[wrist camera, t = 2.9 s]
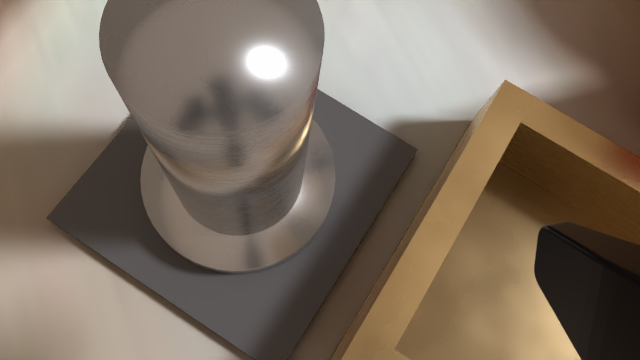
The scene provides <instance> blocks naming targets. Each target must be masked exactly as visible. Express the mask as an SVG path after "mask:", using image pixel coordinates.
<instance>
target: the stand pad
mask: <svg viewBox="0 0 640 360" xmlns="http://www.w3.org/2000/svg"><path fill="white" fill-rule="evenodd" d="M313 120H314V121H315V122H316V123H317V124H318V125H319V127H320V129H321V130H322V132H323V133H324V135H325V137H326V139H327V141H328V143H329V145H330V148H331V151H332V154H333V159H334V164H335V178H336V180H335V190H334V195H333V199H332V203H331V206H330V209H329V211H328V214H327V216H326V219H325V222H324V223H323V225H322V227H321V229H320V230H319V232H318V233H317V235H316V236H315V237H314V239H313V240H312V241H311V242H310V243H309V244H308V245H307V246H306V247H305V248H304V249H303V250H302V251H301V252H300V253H299V254H297V255H296V256H295V257H293V258H292V259H290V260H288V261H287V262H285V263H283V264H281V265H279V266H277V267H274V268H272V269H269V270H265V271H262V272H258V273H251V274H224V273H218V272H214V271H210V270H207V269H204V268H202V267H199V266H197V265H195V264H193V263H191V262H190V261H188V260H186V259H184V258H183V257H182V256H181V255H179V254H178V253H177V252H175V251H174V250H173V249H172V248H171V247H170V246H169V245H168V244H167V243H166V241H165V240H164V239H163V238H162V237H161V236H160V234H159V233H158V231H157V230H156V229H155V227H154V226H153V224H152V222H151V220H150V218H149V217H148V214H147V212H146V209H145V206H144V203H143V198H142V193H141V181H140V178H141V167H142V162H143V158H144V154H145V152H146V149H147V146H148V144H147V142H146V140H145V138H144V137H143V135H142V133H141V131H140V130H139V128H138V126H137V124H136V123H135V121H134V119H133V117H132V118H131V119H130V121H129V122H128V123H127V124H126V125H125V126H124V128H123V129H122V130H121V131H120V132H119V134H118V135H117V136H116V137H115V138H114V139H113V141H112V142H111V143H110V144H109V145H108V146H107V148H106V149H105V150H104V151H103V152H102V153H101V155H100V156H99V157H98V158H97V159H96V161H95V162H94V163H93V164H92V165H91V166H90V168H89V169H88V170H87V171H86V172H85V173H84V175H83V176H82V177H81V178H80V179H79V180H78V182H77V183H76V184H75V185H74V186H73V188H72V189H71V190H70V191H69V192H68V193H67V195H66V196H65V197H64V198H63V199H62V200H61V202H60V203H59V204H58V205H57V206H56V208H55V209H54V210H53V211H52V212H51V213H50V215H49V216H48V217H47V219H49V220H50V221H52V222H53V223H55V224H56V225H58V226H59V227H60V228H62V229H63V230H65V231H66V232H68V233H69V234H71V235H72V236H74V237H75V238H77V239H78V240H80V241H81V242H83V243H84V244H85V245H87V246H88V247H90V248H91V249H93V250H94V251H96V252H97V253H99V254H100V255H102V256H103V257H105V258H106V259H108V260H109V261H110V262H112V263H113V264H115V265H116V266H118V267H119V268H121V269H122V270H124V271H125V272H127V273H128V274H130V275H131V276H133V277H134V278H136V279H137V280H138V281H140V282H141V283H143V284H144V285H146V286H147V287H149V288H150V289H152V290H153V291H155V292H156V293H158V294H159V295H161V296H162V297H163V298H165V299H166V300H168V301H169V302H171V303H172V304H174V305H175V306H177V307H178V308H180V309H181V310H183V311H184V312H186V313H187V314H189V315H190V316H191V317H193V318H194V319H196V320H197V321H199V322H200V323H202V324H203V325H205V326H206V327H208V328H209V329H211V330H212V331H214V332H215V333H216V334H218V335H219V336H221V337H222V338H224V339H225V340H227V341H228V342H230V343H231V344H233V345H234V346H236V347H237V348H239V349H240V350H241V351H243V352H244V353H246V354H247V355H249V356H250V357H252V358H253V359H255V360H287V359H288V357H289V356H290V354H291V352H292V351H293V349H294V348H295V346H296V344H297V343H298V341H299V340H300V338H301V336H302V335H303V333H304V332H305V330H306V328H307V327H308V325H309V323H310V322H311V320H312V319H313V317H314V315H315V314H316V312H317V311H318V309H319V307H320V306H321V304H322V303H323V301H324V299H325V298H326V296H327V294H328V293H329V291H330V290H331V288H332V286H333V285H334V283H335V282H336V280H337V278H338V277H339V275H340V274H341V272H342V270H343V269H344V267H345V265H346V264H347V262H348V261H349V259H350V257H351V256H352V254H353V253H354V251H355V249H356V248H357V246H358V245H359V243H360V241H361V240H362V238H363V236H364V235H365V233H366V232H367V230H368V228H369V227H370V225H371V224H372V222H373V220H374V219H375V217H376V216H377V214H378V212H379V211H380V209H381V208H382V206H383V204H384V203H385V201H386V199H387V198H388V196H389V195H390V193H391V191H392V190H393V188H394V187H395V185H396V183H397V182H398V180H399V179H400V177H401V175H402V174H403V172H404V170H405V169H406V167H407V166H408V164H409V162H410V161H411V159H412V158H413V156H414V154H415V153H416V151H417V149H416V148H414V147H412V146H411V145H409V144H407V143H406V142H404V141H402V140H401V139H399V138H397V137H396V136H394V135H392V134H391V133H389V132H388V131H386V130H384V129H383V128H381V127H379V126H378V125H376V124H374V123H373V122H371V121H369V120H368V119H366V118H364V117H363V116H361V115H360V114H358V113H356V112H355V111H353V110H351V109H350V108H348V107H346V106H345V105H343V104H341V103H340V102H338V101H336V100H335V99H333V98H332V97H330V96H328V95H327V94H325V93H323V92H322V91H320V90H318V89H317V93H316V99H315V105H314V112H313Z"/></svg>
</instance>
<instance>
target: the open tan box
mask: <svg viewBox="0 0 640 360" xmlns="http://www.w3.org/2000/svg"><path fill="white" fill-rule="evenodd" d="M563 221H567V222H572V223H575V224H578V225H581V226H584V227H587V228H590V229H593V230H596V231H599V232H602V233H605V234H608V235H611V236H614V237H617V238H620V239H623V240H626V241H629V242H632V243H635V244H638V245H640V158H639V157H638V156H636V155H634V154H632V153H631V152H629V151H627V150H626V149H624V148H622V147H620V146H619V145H617V144H615V143H613V142H612V141H610V140H608V139H607V138H605V137H603V136H601V135H600V134H598V133H596V132H595V131H593V130H591V129H589V128H588V127H586V126H584V125H582V124H581V123H579V122H577V121H576V120H574V119H572V118H570V117H569V116H567V115H565V114H563V113H562V112H560V111H558V110H557V109H555V108H553V107H551V106H550V105H548V104H546V103H544V102H543V101H541V100H539V99H538V98H536V97H534V96H532V95H531V94H529V93H527V92H526V91H524V90H522V89H520V88H519V87H517V86H515V85H513V84H512V83H510V82H508V81H507V80H505V81H504V82H503V83H502V84H501V86H500V87H499V88H498V89H497V90H496V92H495V93H494V94H493V95H492V97H491V98H490V99H489V100H488V102H487V103H486V104H485V105H484V106H483V108H482V109H481V110H480V111H479V113H478V114H477V115H476V116H475V118H474V119H473V120H472V122H471V123H470V125H469V127H468V129H467V130H466V132H465V134H464V135H463V137H462V139H461V140H460V142H459V144H458V145H457V147H456V149H455V150H454V152H453V154H452V155H451V157H450V159H449V161H448V162H447V164H446V166H445V167H444V169H443V171H442V172H441V174H440V176H439V177H438V179H437V181H436V182H435V184H434V186H433V188H432V189H431V191H430V193H429V194H428V196H427V198H426V199H425V201H424V203H423V204H422V206H421V208H420V209H419V211H418V213H417V214H416V216H415V218H414V220H413V221H412V223H411V225H410V226H409V228H408V230H407V231H406V233H405V235H404V236H403V238H402V240H401V241H400V243H399V245H398V247H397V248H396V250H395V252H394V253H393V255H392V257H391V258H390V260H389V262H388V263H387V265H386V267H385V268H384V270H383V272H382V273H381V275H380V277H379V279H378V280H377V282H376V284H375V285H374V287H373V289H372V290H371V292H370V294H369V295H368V297H367V299H366V300H365V302H364V304H363V305H362V307H361V309H360V311H359V312H358V314H357V316H356V317H355V319H354V321H353V322H352V324H351V326H350V327H349V329H348V331H347V332H346V334H345V336H344V338H343V339H342V341H341V343H340V344H339V346H338V348H337V349H336V351H335V353H334V354H333V356H332V358H331V359H330V360H581V358H580V357H579V355H578V353H577V352H576V350H575V348H574V347H573V345H572V343H571V341H570V340H569V338H568V336H567V334H566V333H565V331H564V329H563V327H562V326H561V324H560V322H559V320H558V319H557V317H556V315H555V313H554V312H553V310H552V308H551V306H550V305H549V303H548V301H547V299H546V298H545V296H544V294H543V292H542V291H541V289H540V287H539V285H538V283H537V281H536V278H535V274H534V264H535V255H536V247H537V238H538V233H539V230H540V229H541V227H543V226H544V225H548V224H553V223H558V222H563Z"/></svg>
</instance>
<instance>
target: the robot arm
mask: <svg viewBox="0 0 640 360" xmlns="http://www.w3.org/2000/svg"><path fill="white" fill-rule="evenodd" d="M534 274H535V278H536V281H537V283H538V285H539V287H540V289H541V291H542V292H543V294H544V296H545V298H546V299H547V301H548V303H549V305H550V306H551V308H552V310H553V312H554V313H555V315H556V317H557V319H558V320H559V322H560V324H561V326H562V327H563V329H564V331H565V333H566V334H567V336H568V338H569V340H570V341H571V343H572V345H573V347H574V348H575V350H576V352H577V353H578V355H579V357H580V358H581V360H640V245H638V244H635V243H632V242H629V241H626V240H623V239H620V238H617V237H614V236H611V235H608V234H605V233H602V232H599V231H596V230H593V229H590V228H587V227H584V226H581V225H578V224H575V223H572V222H567V221H563V222H558V223H553V224H548V225H544V226H543V227H541V229H540V230H539V233H538V238H537V247H536V255H535V264H534Z"/></svg>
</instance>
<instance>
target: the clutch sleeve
mask: <svg viewBox="0 0 640 360" xmlns="http://www.w3.org/2000/svg"><path fill="white" fill-rule="evenodd" d="M99 43H100V51H101V56H102V60H103V63H104V66H105V68H106V71H107V73H108V75H109V77H110V79H111V80H112V82H113V84H114V86H115V88H116V89H117V91H118V93H119V95H120V96H121V98H122V100H123V102H124V103H125V105H126V107H127V109H128V110H129V112H130V114H131V116H132V117H133V119H134V121H135V123H136V124H137V126H138V128H139V130H140V131H141V133H142V135H143V137H144V138H145V140H146V142H147V144H148V146H147V149H146V152H145V154H144V158H143V162H142V167H141V178H140V181H141V193H142V198H143V203H144V206H145V209H146V212H147V214H148V217H149V218H150V220H151V222H152V224H153V226H154V227H155V229H156V230H157V231H158V233H159V234H160V236H161V237H162V238H163V239H164V240H165V241H166V243H167V244H168V245H169V246H170V247H171V248H172V249H173V250H174V251H175V252H177V253H178V254H179V255H181V256H182V257H183V258H184V259H186V260H188V261H190V262H191V263H193V264H195V265H197V266H199V267H202V268H204V269H207V270H210V271H214V272H218V273H224V274H251V273H258V272H262V271H265V270H269V269H272V268H274V267H277V266H279V265H281V264H283V263H285V262H287V261H288V260H290V259H292V258H293V257H295V256H296V255H297V254H299V253H300V252H301V251H302V250H303V249H304V248H305V247H306V246H307V245H308V244H309V243H310V242H311V241H312V240H313V239H314V237H315V236H316V235H317V233H318V232H319V230H320V229H321V227H322V225H323V223H324V222H325V219H326V216H327V214H328V211H329V209H330V206H331V203H332V199H333V195H334V190H335V180H336V178H335V164H334V159H333V154H332V151H331V148H330V145H329V143H328V141H327V139H326V137H325V135H324V133H323V132H322V130H321V129H320V127H319V125H318V124H317V123H316V122H315V121H314V120H313V112H314V105H315V99H316V93H317V86H318V80H319V74H320V67H321V61H322V55H323V47H324V23H323V18H322V14H321V11H320V8H319V5H318V2H317V0H108V1H107V3H106V6H105V8H104V11H103V15H102V18H101V23H100V31H99Z"/></svg>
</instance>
